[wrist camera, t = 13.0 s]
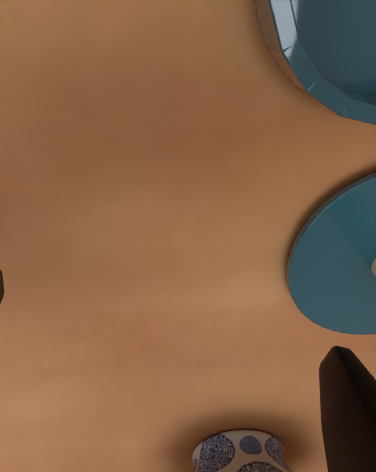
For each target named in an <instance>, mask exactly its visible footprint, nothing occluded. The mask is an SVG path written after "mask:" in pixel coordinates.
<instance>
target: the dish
mask: <svg viewBox="0 0 376 472" xmlns="http://www.w3.org/2000/svg"><path fill="white" fill-rule="evenodd" d="M254 2H255V9H256V15H257V19H258V22H259V26H260V29H261V33H262V35H263V38H264V40H265V43H266V45H267V47H268V50H269V51H270V53H271V55H272V57H273V58H274V60H275V62H276V63H277V65H278V66H279V67H280V69H281V70H282V71H283V72H284V74H285V75H286V76H287V78H288V79H289V80H290V81H291V82H292V83H293V84H295V85H296V86H298V87H299V88H300V89H302V90H303V91H304V92H306V93H307V94H309V95H310V96H311V97H313V98H314V99H316V100H317V101H318V102H320V103H321V104H323V105H324V106H326V107H327V108H329V109H330V110H331V111H333V112H334V113H336V114H337V115H339V116H341V117H345V118H349V119H353V120H357V121H361V122H365V123H369V124H373V125H376V0H254Z"/></svg>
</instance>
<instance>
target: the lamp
mask: <svg viewBox="0 0 376 472" xmlns="http://www.w3.org/2000/svg"><path fill="white" fill-rule="evenodd" d="M192 462H193V465H194V472H293V471H292V470H291V468H290V467H289V466H288V464H287V462H286V461H285V449H284V447H283V444H282V443H281V442H280V441H279V440H278V439H277V438H275V437H274V436H272V435H270V434H267V433H265V432H260V431H254V430H235V431H228V432H223V433H219V434H217V435H214V436H211V437H210V438H208V439H206V440H204V441H203V442H201V443H200V444H199V445H198V446H197V447H196V448H195V450H194V452H193V455H192Z"/></svg>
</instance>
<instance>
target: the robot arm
mask: <svg viewBox="0 0 376 472" xmlns="http://www.w3.org/2000/svg"><path fill="white" fill-rule="evenodd" d="M3 296H4V284H3V276H2V271H1V270H0V303H1V301H2V299H3ZM319 381H320V405H321V424H322V433H323V440H324V447H325V454H326V460H327V467H328V472H376V380H375V378H374V377H373V376H372V375H371V374H370V372H369V371H368V370H367V369H366V368H365V366H364V365H363V364H362V363H361V362H360V360H359V359H358V358H357V357H356V355H355V354H354V353H353V352H352V351H351V350H350V349H348V348H344V347H340V346H334V347H332V348H331V349H330V351H329V352H328V354H327V355H326V357H325V358H324V359H323V361H322V362H321V364H320V368H319Z"/></svg>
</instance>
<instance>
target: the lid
mask: <svg viewBox="0 0 376 472" xmlns="http://www.w3.org/2000/svg"><path fill="white" fill-rule="evenodd" d="M287 281H288V286H289V290H290V292H291V295H292V297H293V300H294V302H295V304H296V305H297V307H298V308H299V310H300V311H301V312H302V313H303V314H304V315H305V316H306V317H307V318H309V319H310V320H311V321H313V322H314V323H316V324H318V325H320V326H322V327H324V328H327V329H329V330H332V331H336V332H340V333H347V334H361V335H363V334H376V172H375V173H373V174H370V175H367V176H365V177H363V178H361V179H359V180H357V181H355V182H354V183H352V184H350V185H348V186H347V187H345V188H344V189H342V190H341V191H339V192H338V193H336V194H335V195H334V196H332V197H331V198H330V199H329V200H327V201H326V202H325V203H324V204H323V205H322V206H321V207H320V208H319V209H318V210H317V211H316V212H315V213H314V214H313V215H312V216H311V217H310V219H309V220H308V221H307V222H306V224H305V225H304V227H303V228H302V230H301V231H300V233H299V234H298V236H297V238H296V240H295V242H294V244H293V247H292V249H291V253H290V256H289V260H288V266H287Z"/></svg>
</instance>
